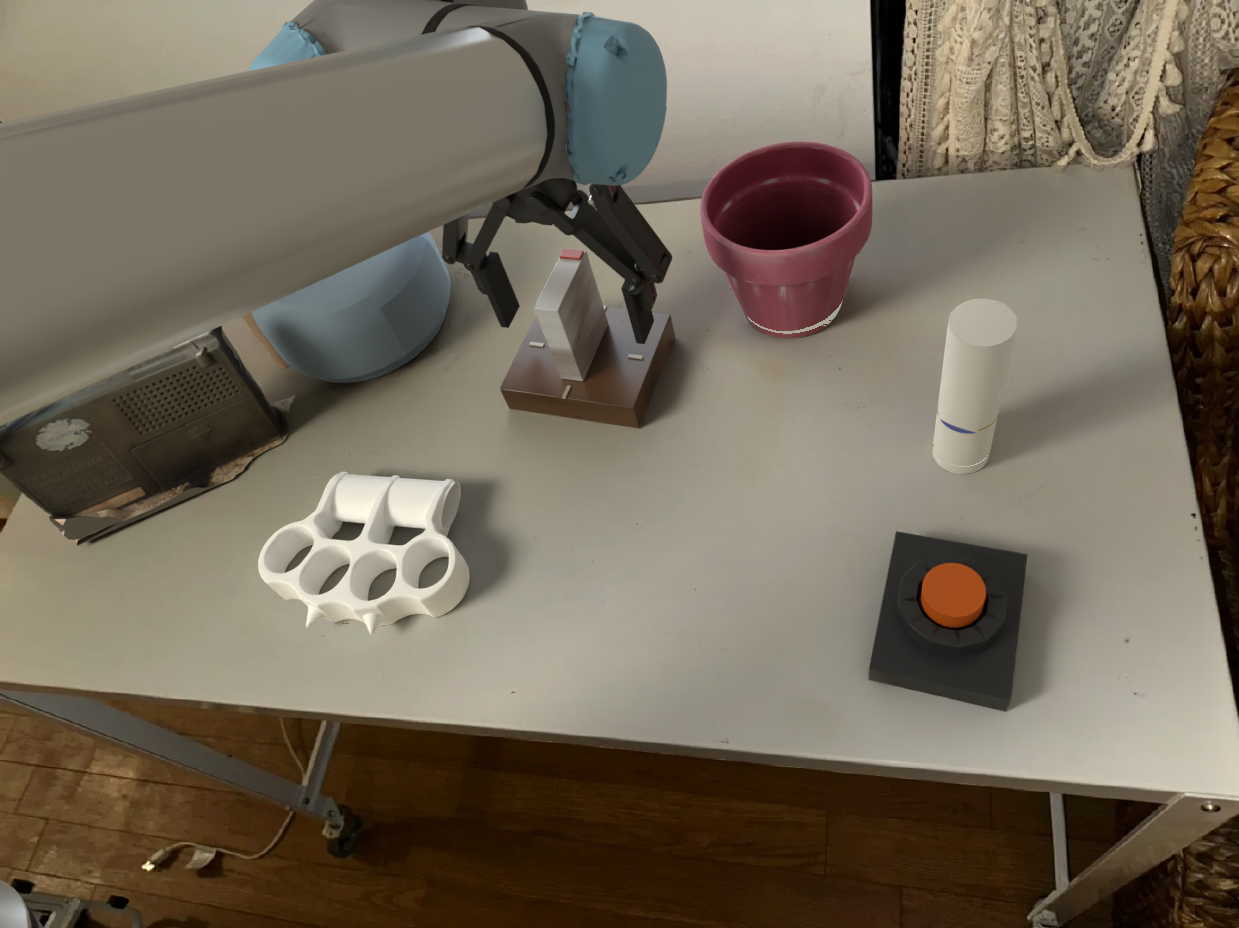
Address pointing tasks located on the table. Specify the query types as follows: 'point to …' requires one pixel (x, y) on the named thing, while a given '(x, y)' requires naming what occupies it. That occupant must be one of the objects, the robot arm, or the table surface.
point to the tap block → (592, 374)
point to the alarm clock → (359, 316)
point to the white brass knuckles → (370, 550)
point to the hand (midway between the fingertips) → (576, 324)
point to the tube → (972, 383)
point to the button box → (945, 656)
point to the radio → (142, 438)
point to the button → (953, 595)
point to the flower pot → (788, 231)
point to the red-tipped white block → (572, 314)
